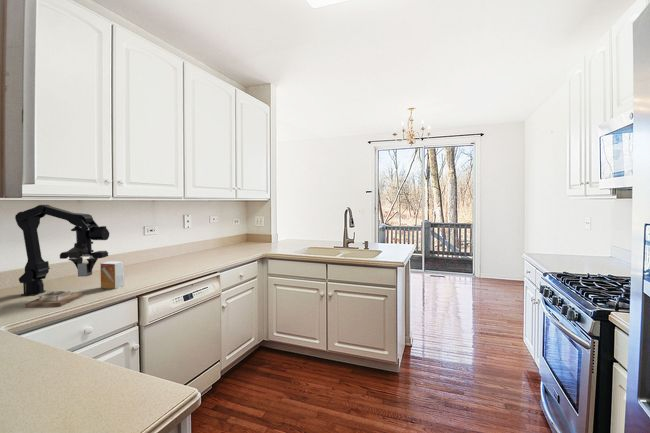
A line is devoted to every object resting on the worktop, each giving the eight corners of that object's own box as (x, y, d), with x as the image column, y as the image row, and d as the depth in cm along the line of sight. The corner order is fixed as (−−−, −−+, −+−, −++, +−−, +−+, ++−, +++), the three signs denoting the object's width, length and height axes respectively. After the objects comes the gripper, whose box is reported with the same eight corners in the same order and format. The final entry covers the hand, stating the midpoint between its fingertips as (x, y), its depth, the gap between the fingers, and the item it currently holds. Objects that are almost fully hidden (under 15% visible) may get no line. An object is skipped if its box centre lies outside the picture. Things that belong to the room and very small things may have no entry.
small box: (100, 288, 159) (99, 263, 159) (110, 285, 166) (109, 260, 165) (115, 289, 159) (114, 263, 158) (124, 285, 165) (123, 261, 164)
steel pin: (77, 276, 149) (77, 264, 149) (83, 274, 153) (83, 262, 153) (86, 276, 149) (86, 264, 149) (92, 274, 153) (91, 262, 153)
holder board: (25, 307, 132) (24, 298, 131) (50, 296, 145) (50, 289, 145) (61, 306, 133) (60, 298, 133) (83, 296, 147) (82, 288, 147)
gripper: (50, 242, 141) (51, 276, 142) (94, 242, 143) (95, 276, 144) (67, 239, 152) (68, 271, 153) (108, 239, 154) (109, 270, 155)
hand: (85, 272), depth 151 cm, fingers closed on steel pin, 4 cm apart
